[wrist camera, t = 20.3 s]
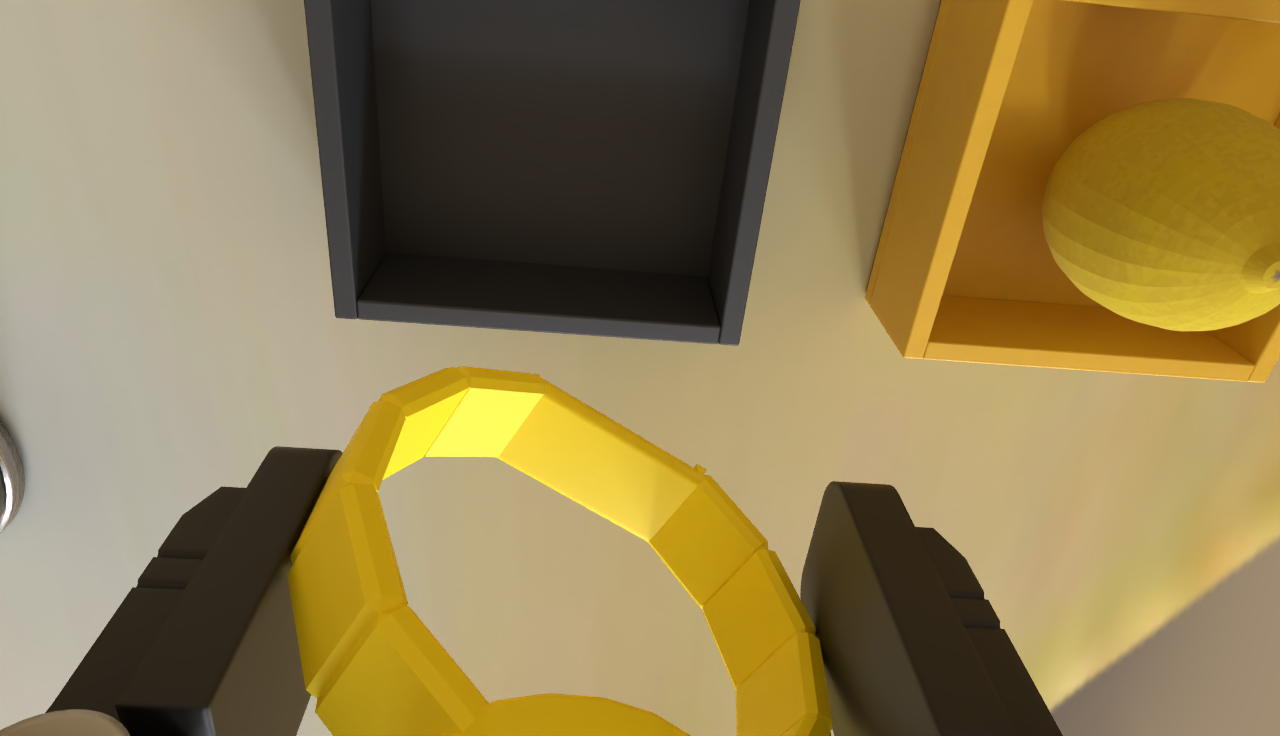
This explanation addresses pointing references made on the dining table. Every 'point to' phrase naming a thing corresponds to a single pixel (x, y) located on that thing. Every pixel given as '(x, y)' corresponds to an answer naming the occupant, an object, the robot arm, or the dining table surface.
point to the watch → (588, 474)
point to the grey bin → (548, 160)
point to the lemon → (1171, 214)
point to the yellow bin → (1022, 163)
